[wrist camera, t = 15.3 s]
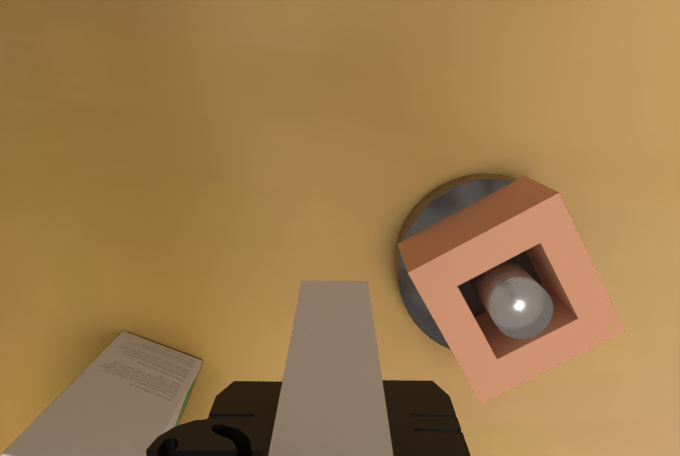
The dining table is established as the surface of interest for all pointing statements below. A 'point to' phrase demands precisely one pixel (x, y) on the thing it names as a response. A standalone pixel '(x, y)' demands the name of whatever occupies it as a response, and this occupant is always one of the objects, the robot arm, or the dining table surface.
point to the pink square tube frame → (493, 249)
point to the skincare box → (114, 403)
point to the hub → (487, 288)
